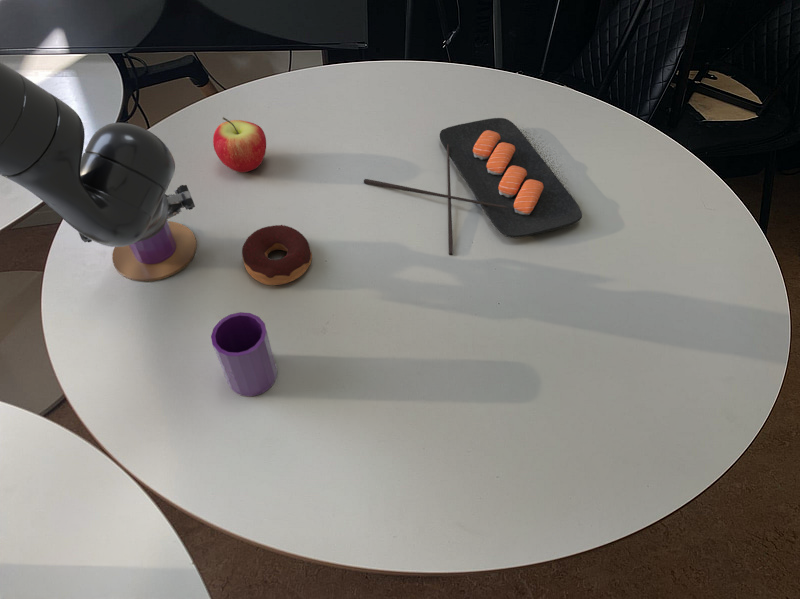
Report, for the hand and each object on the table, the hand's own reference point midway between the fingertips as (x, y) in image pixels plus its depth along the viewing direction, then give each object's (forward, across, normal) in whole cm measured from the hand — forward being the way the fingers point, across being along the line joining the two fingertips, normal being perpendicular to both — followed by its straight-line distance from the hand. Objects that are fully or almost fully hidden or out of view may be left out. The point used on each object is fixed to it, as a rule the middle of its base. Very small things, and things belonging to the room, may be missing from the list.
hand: (139, 218), depth 83 cm
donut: (-1, -16, +12) cm, 20 cm away
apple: (+15, -19, -4) cm, 25 cm away
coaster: (+6, 0, +5) cm, 8 cm away
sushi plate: (-1, -48, +12) cm, 50 cm away
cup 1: (+6, 0, +4) cm, 7 cm away
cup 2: (-13, -5, +24) cm, 28 cm away
